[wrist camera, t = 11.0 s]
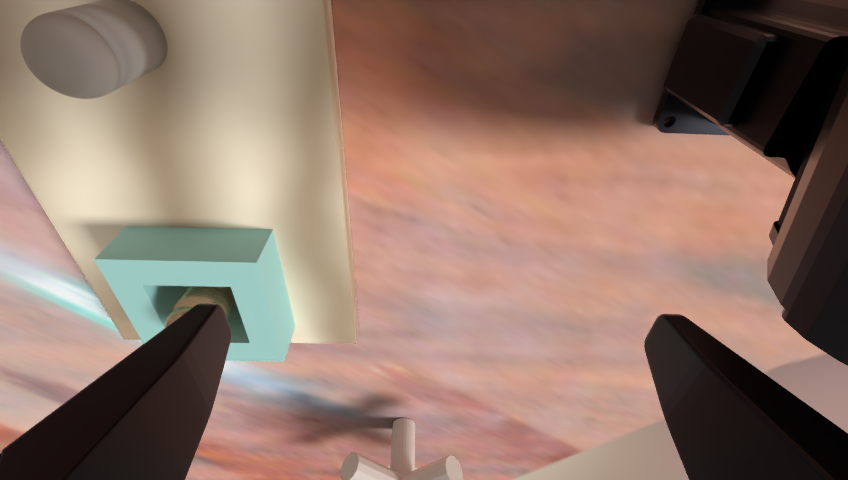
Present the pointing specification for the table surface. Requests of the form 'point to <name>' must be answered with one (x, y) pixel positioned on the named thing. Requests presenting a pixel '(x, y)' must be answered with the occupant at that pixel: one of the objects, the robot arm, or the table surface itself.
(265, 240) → the teal collar
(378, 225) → the table surface
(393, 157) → the table surface
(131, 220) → the birch stand board
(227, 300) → the bronze post
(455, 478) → the pipe connector
